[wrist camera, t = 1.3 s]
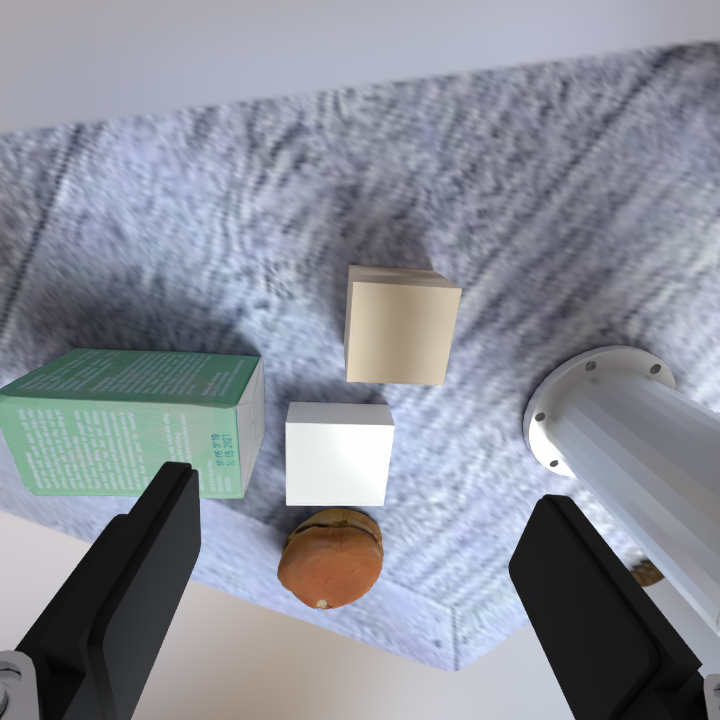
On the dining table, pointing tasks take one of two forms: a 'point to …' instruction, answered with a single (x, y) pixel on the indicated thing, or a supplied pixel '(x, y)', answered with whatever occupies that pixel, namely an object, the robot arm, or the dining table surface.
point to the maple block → (398, 325)
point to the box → (135, 421)
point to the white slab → (337, 453)
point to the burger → (332, 558)
